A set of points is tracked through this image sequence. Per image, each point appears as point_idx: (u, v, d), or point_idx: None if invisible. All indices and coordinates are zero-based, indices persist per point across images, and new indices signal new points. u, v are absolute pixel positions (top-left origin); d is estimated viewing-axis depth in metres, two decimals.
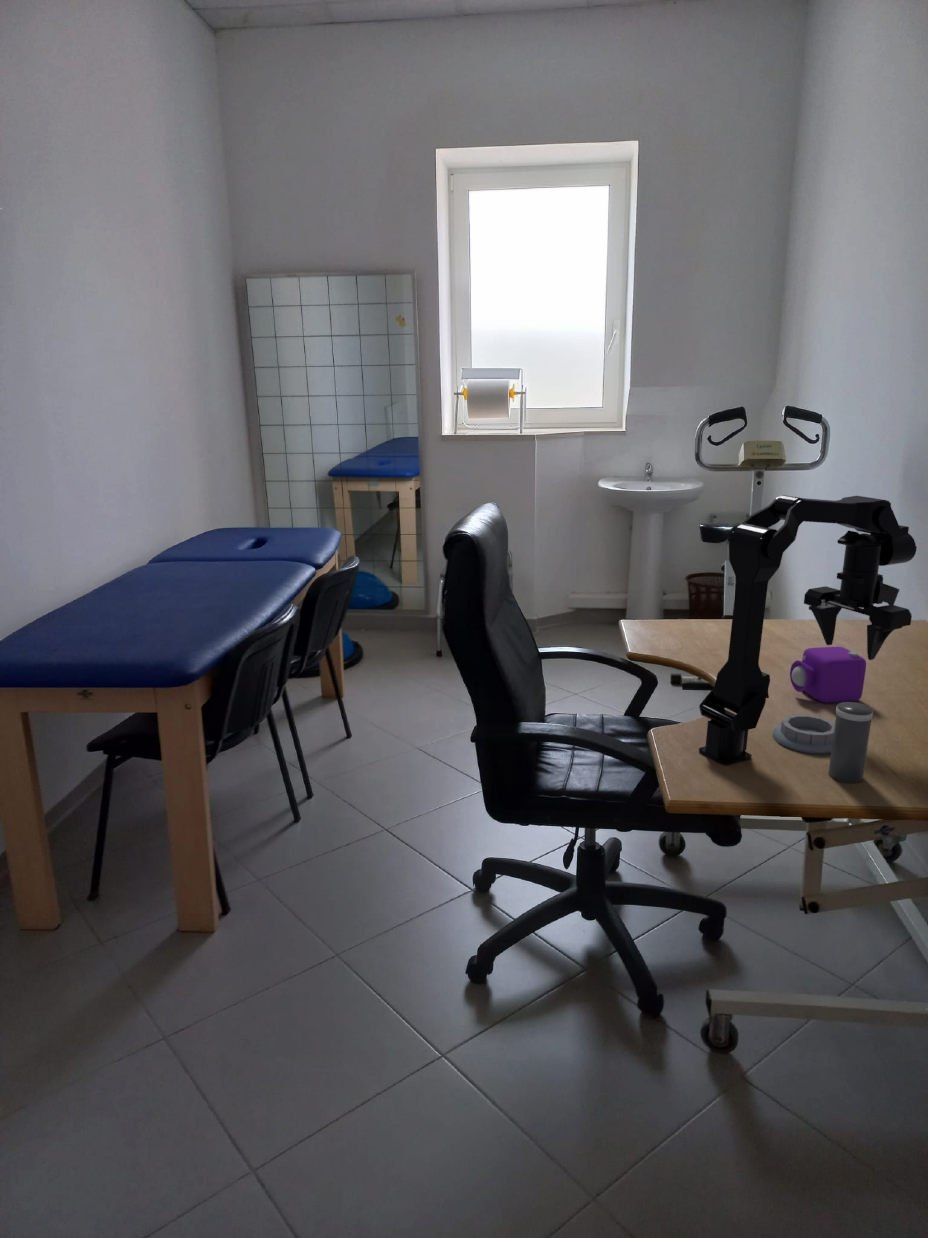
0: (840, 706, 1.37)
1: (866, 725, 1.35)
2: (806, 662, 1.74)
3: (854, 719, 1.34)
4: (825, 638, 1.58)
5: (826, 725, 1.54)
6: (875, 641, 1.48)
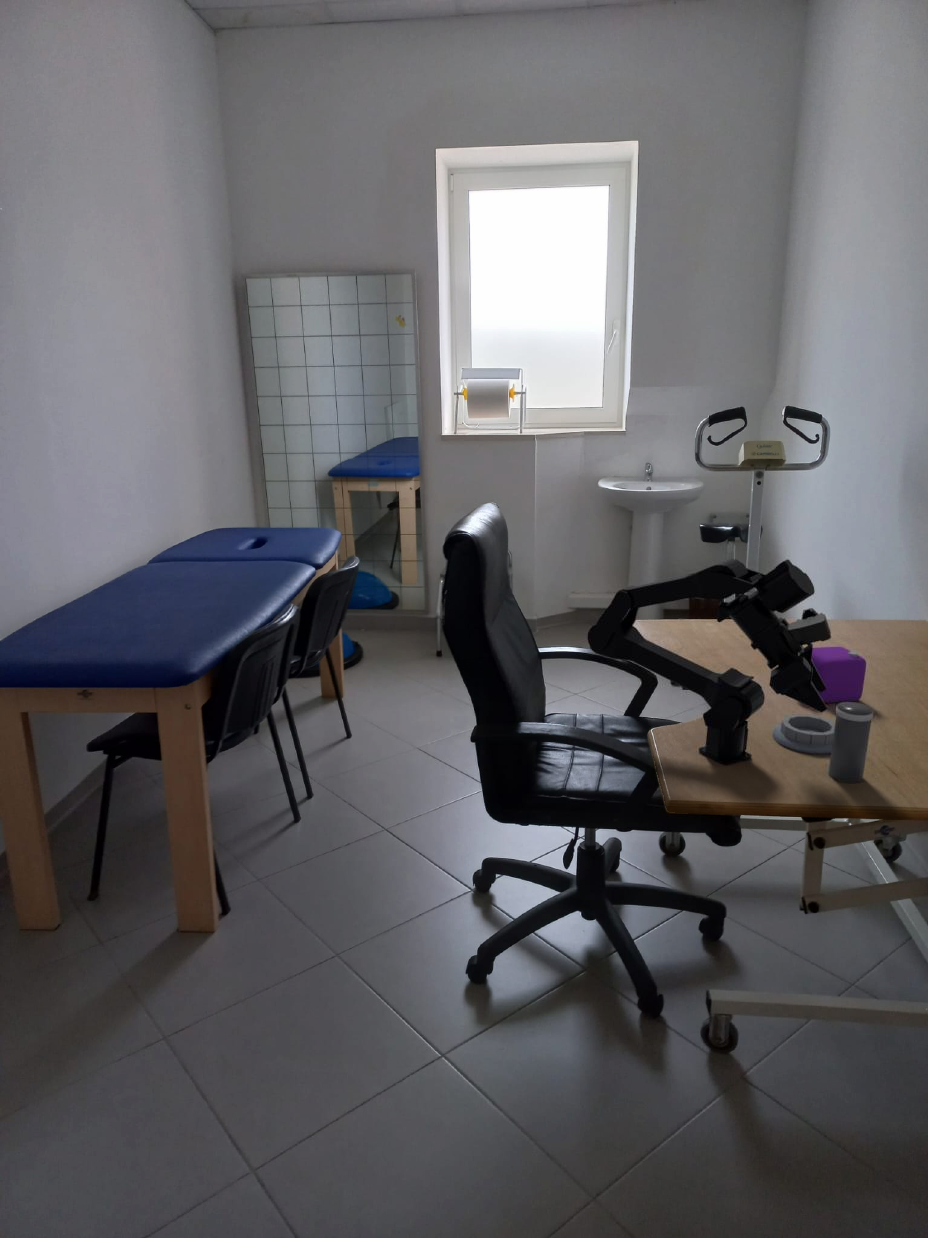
0: (840, 706, 1.37)
1: (866, 725, 1.35)
2: None
3: (854, 719, 1.34)
4: None
5: (826, 725, 1.54)
6: (801, 698, 1.34)
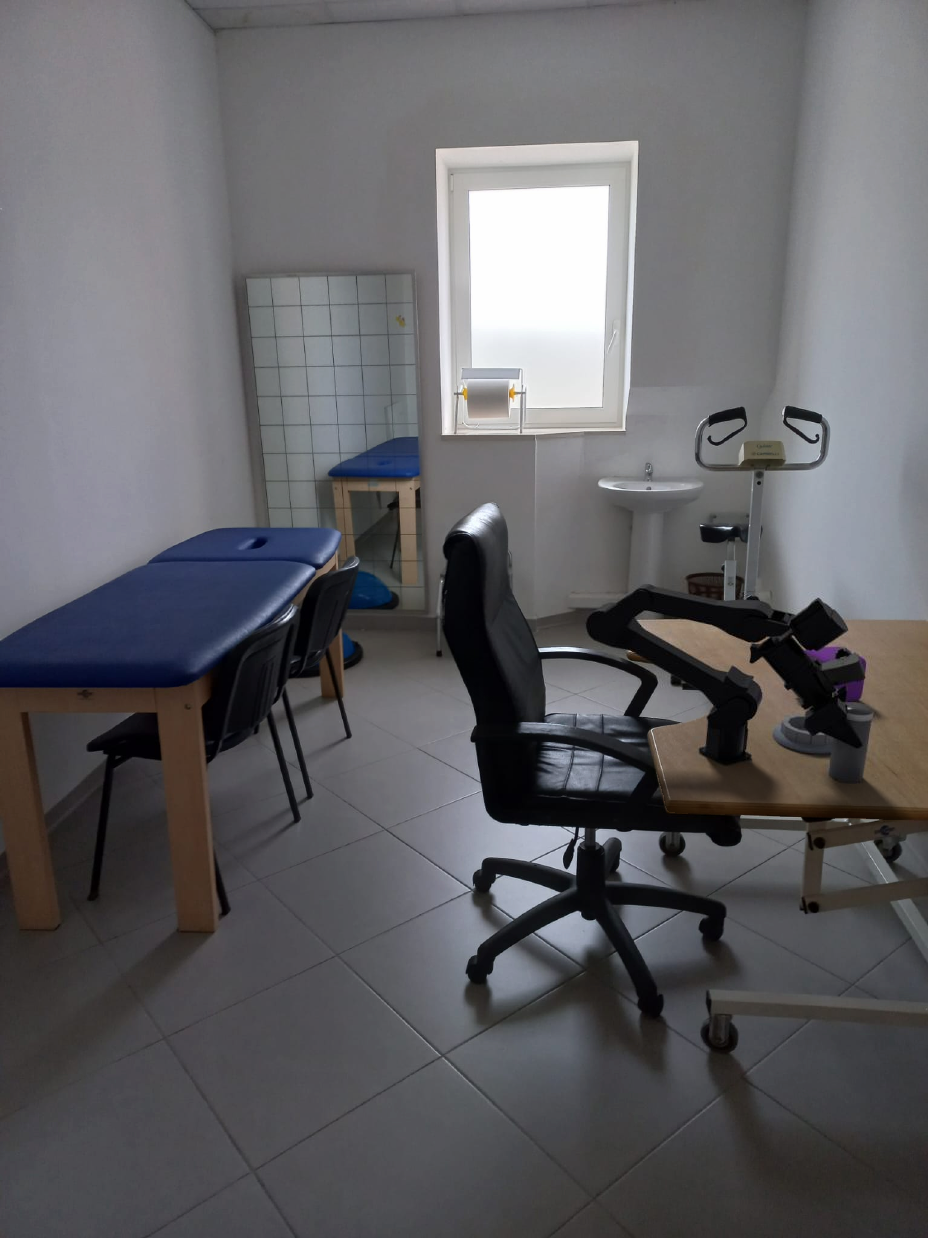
0: None
1: (867, 725, 1.35)
2: None
3: (854, 719, 1.34)
4: None
5: None
6: (836, 735, 1.35)
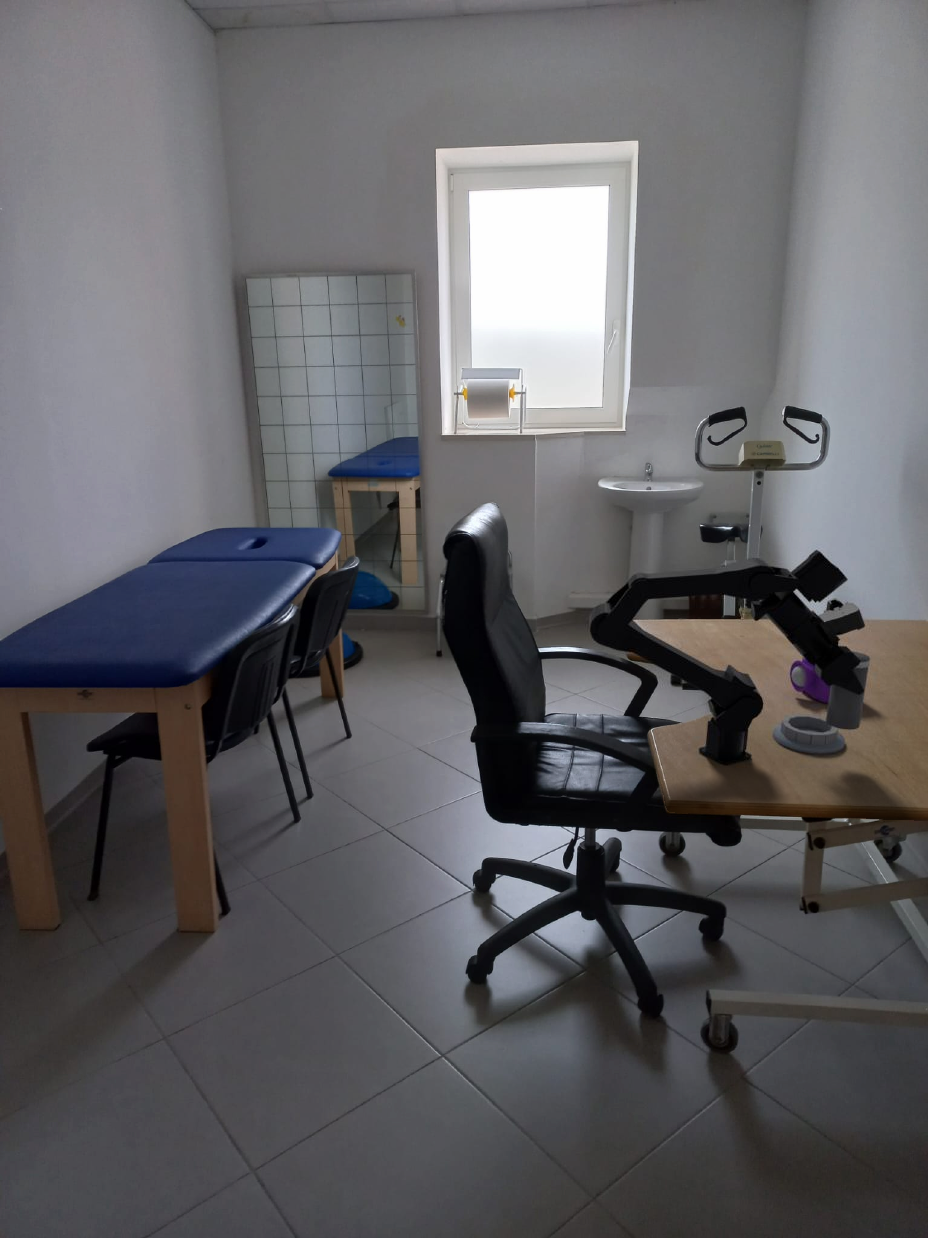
0: None
1: (866, 671, 1.39)
2: (806, 662, 1.74)
3: None
4: None
5: (826, 725, 1.54)
6: (842, 683, 1.37)
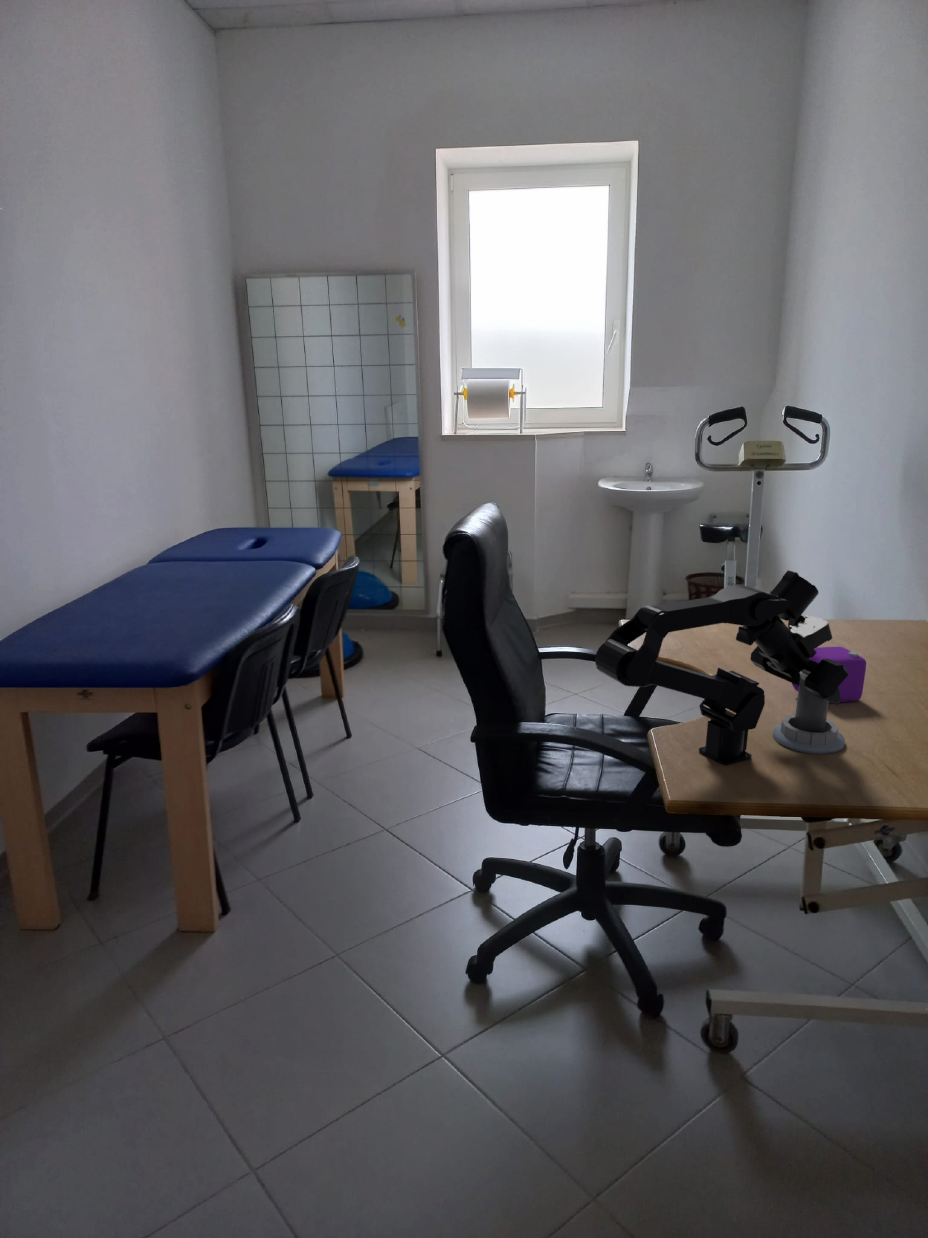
0: None
1: None
2: None
3: None
4: (794, 683, 1.55)
5: (826, 725, 1.54)
6: None
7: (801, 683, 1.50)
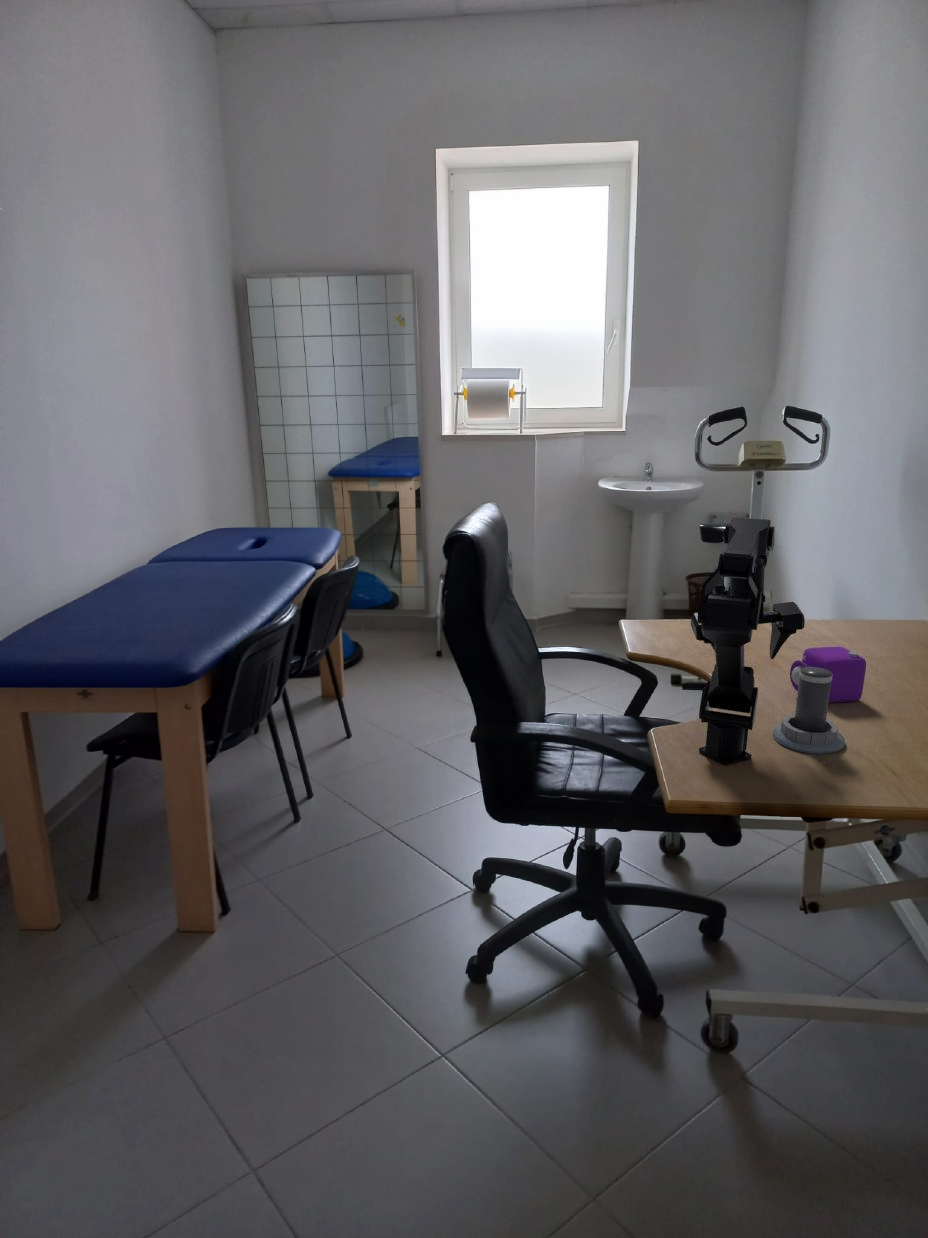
0: (807, 673, 1.49)
1: (830, 684, 1.49)
2: (806, 662, 1.74)
3: (826, 681, 1.48)
4: None
5: (826, 725, 1.54)
6: None
7: (800, 683, 1.50)
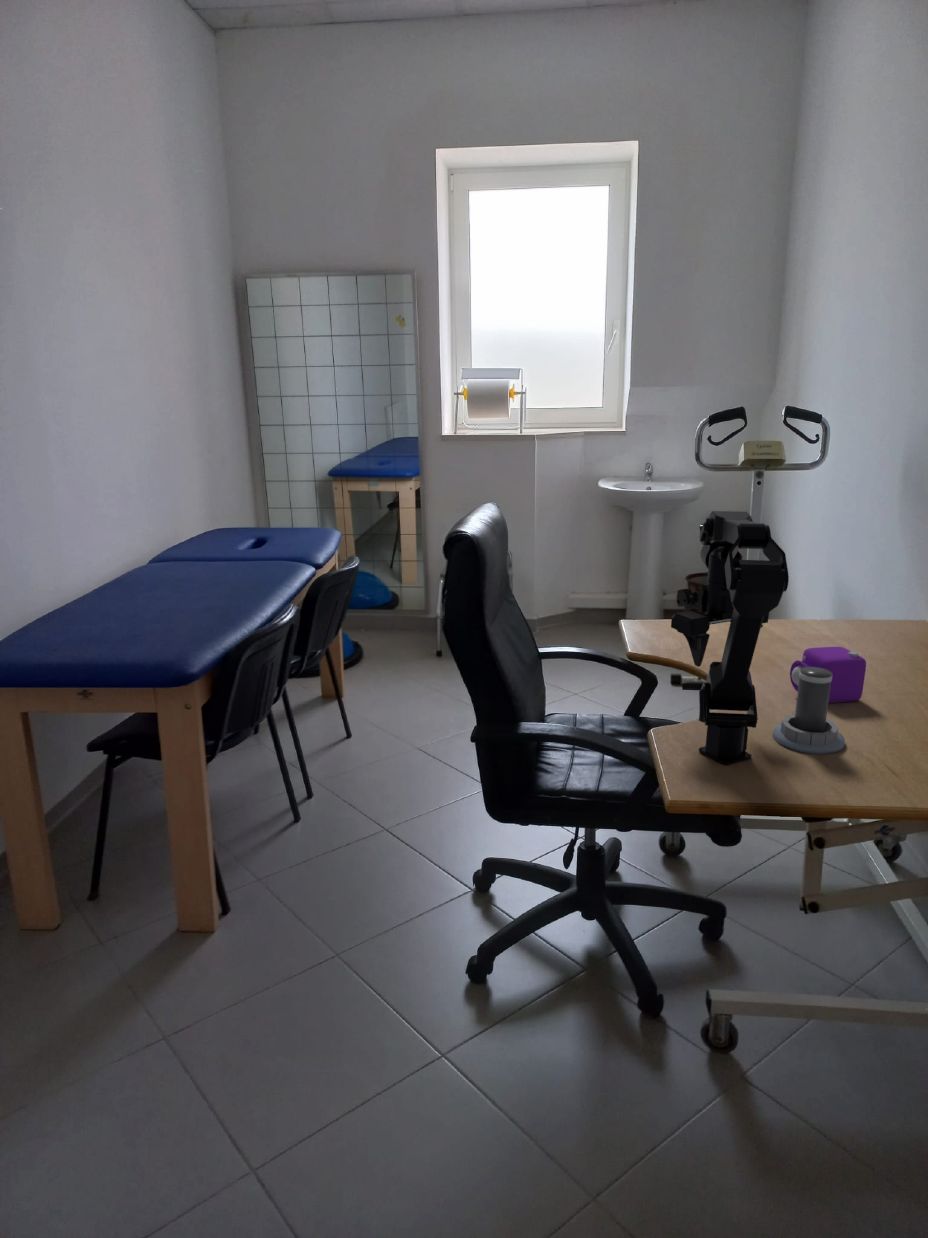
0: (807, 673, 1.49)
1: (830, 684, 1.49)
2: (806, 662, 1.74)
3: (826, 681, 1.48)
4: (701, 660, 1.54)
5: (826, 725, 1.54)
6: None
7: (800, 683, 1.50)
